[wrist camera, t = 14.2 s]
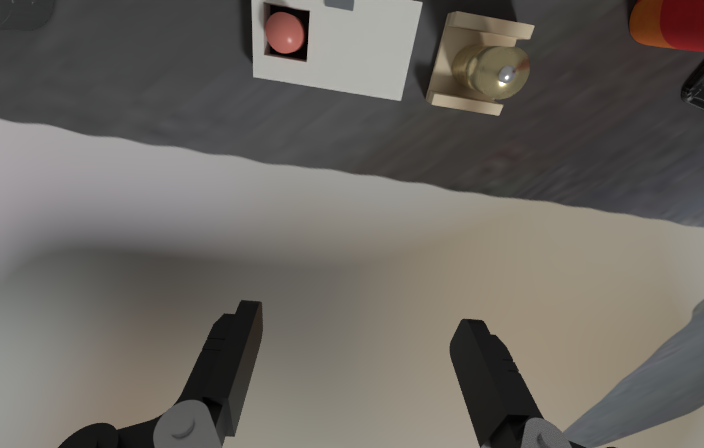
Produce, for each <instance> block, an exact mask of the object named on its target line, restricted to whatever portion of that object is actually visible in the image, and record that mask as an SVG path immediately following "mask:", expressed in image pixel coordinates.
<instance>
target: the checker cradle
mask: <svg viewBox="0 0 704 448" xmlns="http://www.w3.org/2000/svg"><path fill="white" fill-rule="evenodd" d="M422 3H423V2H418V1H413V0H252V40H253V77H257V78H263V79H270V80H276V81H282V82H288V83H294V84H300V85H306V86H312V87H318V88H325V89H331V90H337V91H343V92H349V93H355V94H361V95H367V96H374V97H380V98H386V99H392V100H398V101H401V97H402V93H403V88H404V84H405V79H406V75H407V70H408V66H409V61H410V57H411V52H412V48H413V43H414V39H415V35H416V30H417V26H418V21H419V17H420V12H421V8H422ZM270 5H275V6H280V7H286V8H291V9H297V10H302V11H308V12H310V19H309V35H308V51H307V60H304V59H298V58H292V57H286V56H281V55H275V54H270V44H269V42H268V40H267V37H266V31H265V29H266V23H267V21H268V19H269V18H270Z"/></svg>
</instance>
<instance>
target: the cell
mask: <svg viewBox="0 0 704 448" xmlns="http://www.w3.org/2000/svg"><path fill="white" fill-rule="evenodd" d="M529 71H530V61H529V58H528V56H527V54H526V53H525V52H524V51H523V50H522V49H520V48H517V47H506V46H491V45H475V44H474V45H468V46H466V47H464V48H462V49H461V50H460V51H459V52H458V53H457V55H456V56H455V58H454V60H453V63H452V75H453V77H454V79H455V80H456V82H458V83H459V84H461V85H464V86H466V87H468V88H471V89H473V90H475V91H478V92H480V93H482V94H485V95H487V96H489V97H492V98H494V99H505V98H508V97H510V96H512V95H514V94H515V93H517V92H518V91H519V90H520V89H521V88H522V86H523V85H524V84H525V82H526V80H527V78H528V75H529Z"/></svg>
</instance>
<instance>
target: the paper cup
mask: <svg viewBox="0 0 704 448" xmlns="http://www.w3.org/2000/svg"><path fill="white" fill-rule="evenodd" d="M629 31H630V34H631V36H632V38H633V39H634V40H635V41H637V42H638V43H641V44H645V45H650V46H658V47H665V48H674V49H682V50H691V51H700V52H704V0H637V2H636V3H635V5H634V7H633V10H632V12H631V15H630V20H629Z"/></svg>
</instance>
